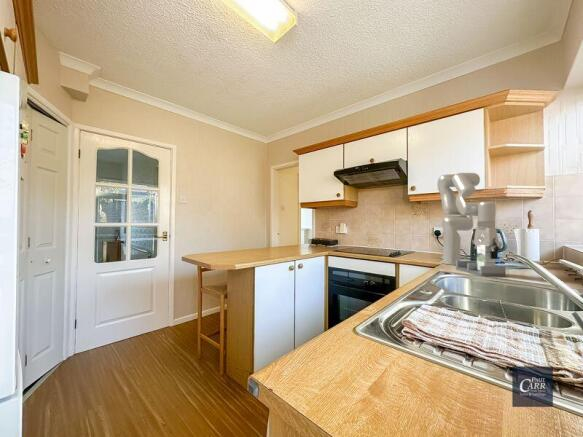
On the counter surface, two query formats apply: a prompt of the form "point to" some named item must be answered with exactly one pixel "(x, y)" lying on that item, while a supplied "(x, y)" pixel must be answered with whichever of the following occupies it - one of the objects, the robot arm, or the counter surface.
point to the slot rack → (484, 270)
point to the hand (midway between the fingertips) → (485, 257)
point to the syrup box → (484, 256)
